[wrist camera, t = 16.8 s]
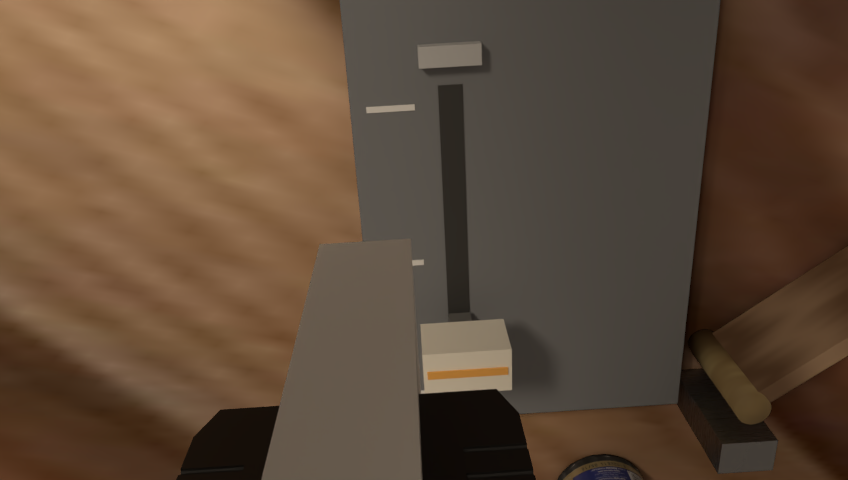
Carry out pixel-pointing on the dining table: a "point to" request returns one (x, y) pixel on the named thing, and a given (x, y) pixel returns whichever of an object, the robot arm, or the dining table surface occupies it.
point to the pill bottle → (601, 469)
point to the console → (541, 177)
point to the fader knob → (466, 355)
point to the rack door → (779, 340)
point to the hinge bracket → (723, 427)
